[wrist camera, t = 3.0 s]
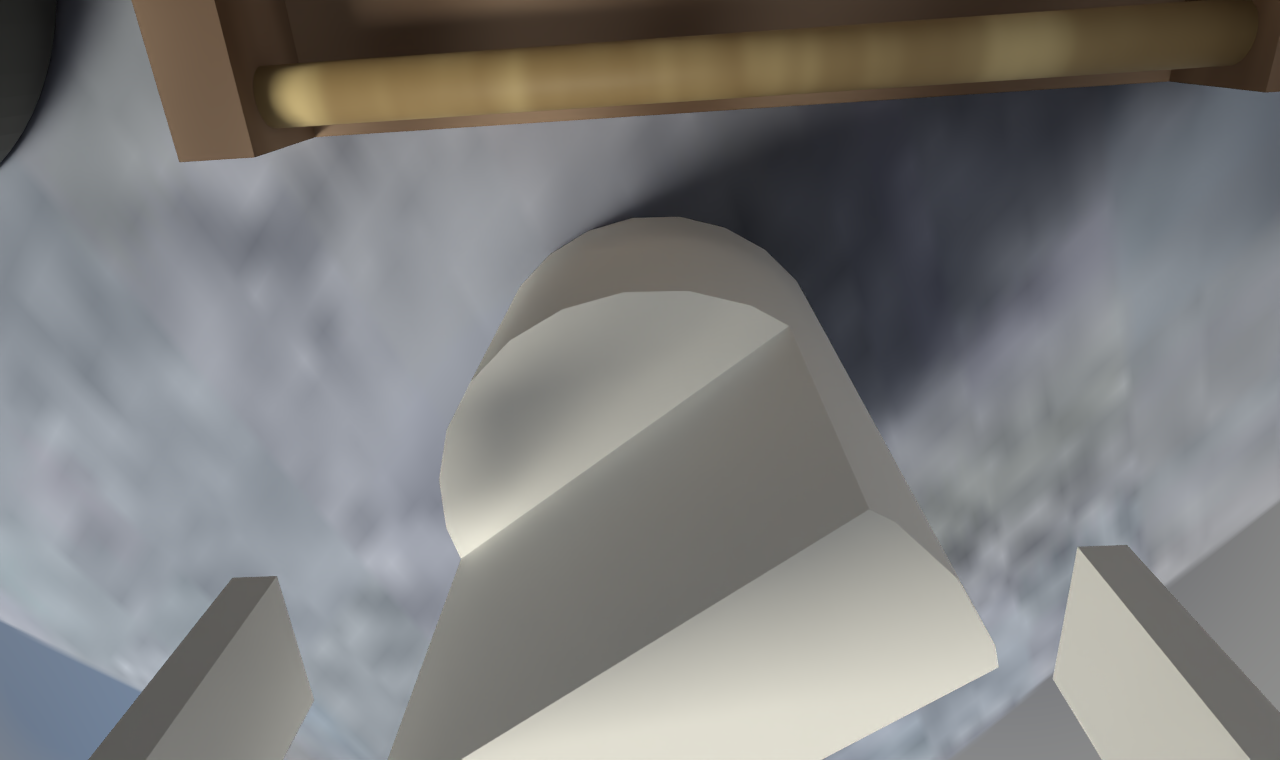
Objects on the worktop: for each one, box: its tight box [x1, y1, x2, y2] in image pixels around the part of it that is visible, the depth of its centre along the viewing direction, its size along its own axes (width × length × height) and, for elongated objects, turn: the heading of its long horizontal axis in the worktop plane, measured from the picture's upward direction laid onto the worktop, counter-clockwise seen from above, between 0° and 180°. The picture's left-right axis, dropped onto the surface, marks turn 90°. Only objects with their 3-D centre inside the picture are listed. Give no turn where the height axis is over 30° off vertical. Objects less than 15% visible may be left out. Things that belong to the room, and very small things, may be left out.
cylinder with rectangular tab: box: [388, 217, 998, 760], centre depth 16 cm, size 9×9×12 cm
